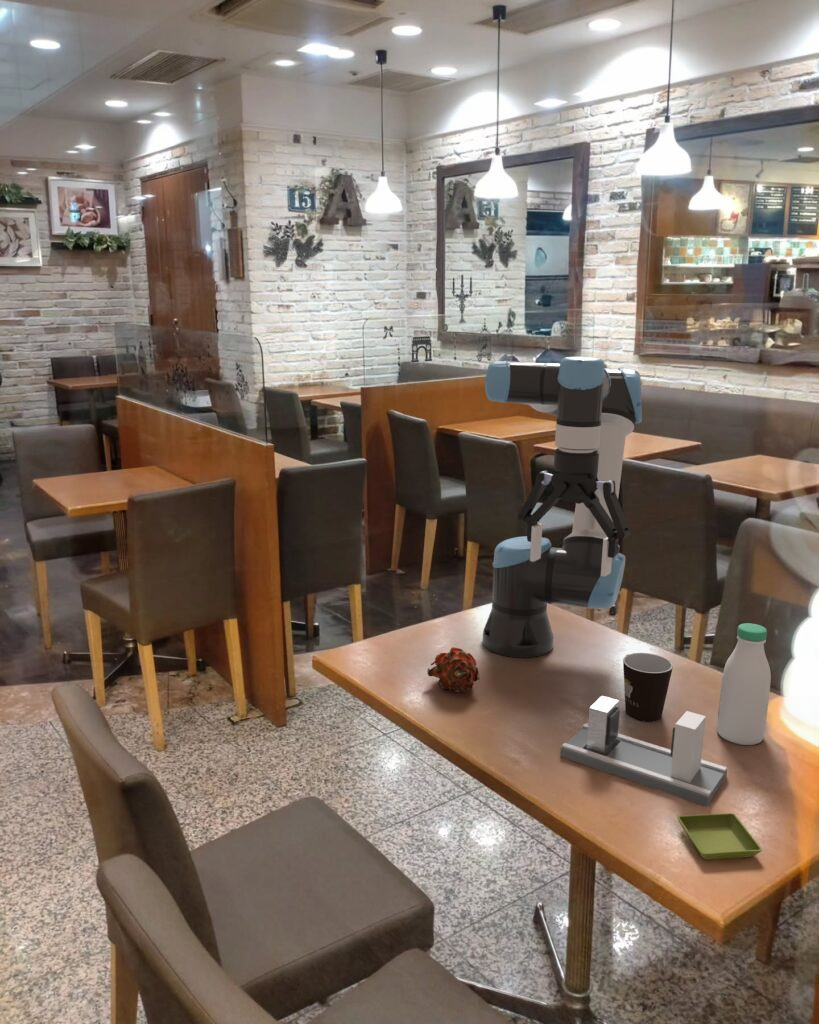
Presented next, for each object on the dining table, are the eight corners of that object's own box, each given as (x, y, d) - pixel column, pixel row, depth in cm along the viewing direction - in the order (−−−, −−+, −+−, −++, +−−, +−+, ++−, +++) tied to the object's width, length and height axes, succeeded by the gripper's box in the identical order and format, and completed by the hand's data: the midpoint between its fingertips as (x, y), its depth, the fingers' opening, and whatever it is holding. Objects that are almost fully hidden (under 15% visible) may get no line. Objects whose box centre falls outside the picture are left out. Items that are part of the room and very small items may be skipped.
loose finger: (598, 744, 148) (601, 695, 146) (617, 750, 146) (621, 701, 144) (585, 757, 144) (589, 707, 142) (606, 763, 142) (610, 713, 140)
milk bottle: (772, 744, 148) (787, 635, 143) (730, 748, 147) (743, 637, 142) (748, 722, 156) (761, 617, 151) (708, 725, 155) (719, 620, 149)
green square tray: (762, 863, 118) (763, 850, 118) (700, 867, 118) (701, 853, 117) (732, 825, 127) (734, 812, 126) (674, 828, 126) (676, 815, 125)
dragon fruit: (468, 710, 162) (437, 693, 173) (498, 677, 165) (465, 662, 176) (442, 679, 159) (412, 664, 170) (473, 646, 162) (442, 633, 172)
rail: (585, 732, 152) (589, 676, 149) (726, 776, 139) (733, 716, 136) (560, 756, 144) (563, 698, 141) (706, 806, 131) (713, 743, 128)
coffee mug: (669, 727, 154) (675, 675, 151) (619, 722, 155) (623, 670, 153) (664, 697, 165) (669, 648, 162) (618, 693, 167) (621, 644, 164)
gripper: (655, 454, 146) (645, 575, 151) (522, 437, 160) (517, 549, 165) (639, 461, 140) (629, 586, 145) (502, 443, 154) (497, 558, 159)
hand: (569, 567), depth 155 cm, fingers open, 13 cm apart
